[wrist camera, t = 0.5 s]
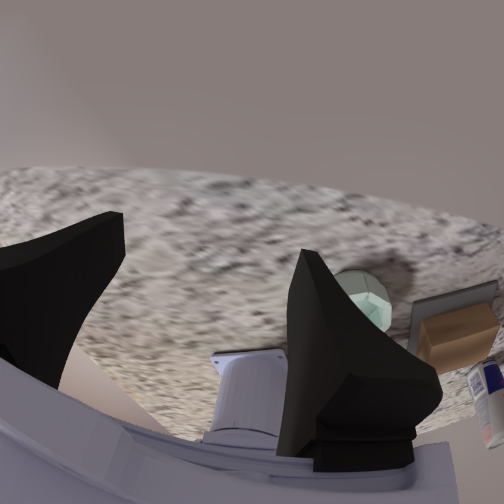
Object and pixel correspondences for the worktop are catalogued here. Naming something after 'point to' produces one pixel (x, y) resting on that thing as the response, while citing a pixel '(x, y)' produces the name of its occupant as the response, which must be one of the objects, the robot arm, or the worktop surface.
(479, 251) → the worktop surface
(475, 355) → the cardboard brown block
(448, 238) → the worktop surface
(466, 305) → the mat
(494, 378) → the energy drink
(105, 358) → the worktop surface
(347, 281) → the bowl
